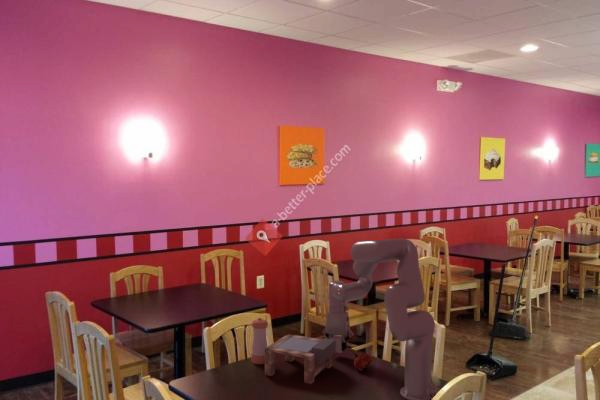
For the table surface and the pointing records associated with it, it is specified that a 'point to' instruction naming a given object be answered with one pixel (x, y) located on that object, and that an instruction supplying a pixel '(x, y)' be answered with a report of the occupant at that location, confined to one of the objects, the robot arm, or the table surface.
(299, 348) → the trapdoor
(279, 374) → the table surface
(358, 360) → the pomegranate
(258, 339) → the pepper shaker
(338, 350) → the granite stone
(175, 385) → the table surface
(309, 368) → the trapdoor frame
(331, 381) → the table surface
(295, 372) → the table surface
